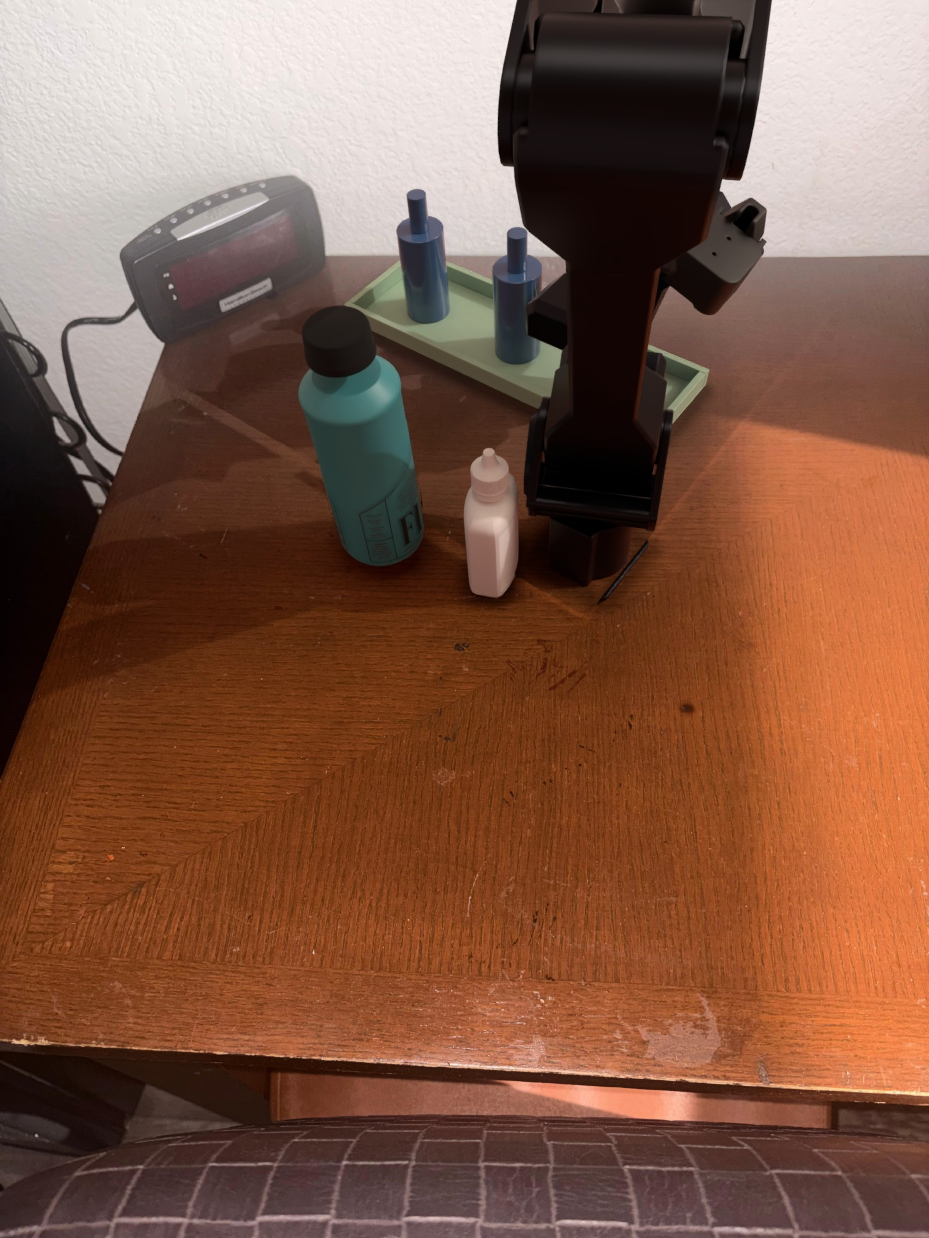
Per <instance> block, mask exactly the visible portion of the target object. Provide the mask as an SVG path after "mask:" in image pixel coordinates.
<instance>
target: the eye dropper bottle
mask: <svg viewBox="0 0 929 1238" xmlns="http://www.w3.org/2000/svg"><path fill="white" fill-rule="evenodd" d="M469 472H470V485H471V486H470V487H469V489H468V491H467V494H466V496H465V500H464V506H463V526H464V527H463V528H464V538H465V541H464V542H465V551H466V562H467V573H468V585H469V588H470V591H471V592H472V593H473V594H474V595H479V596H482V597H489V598H500V597H502V596H503V595H504V594H505V592H506V591H507V590H508V589H509V587H510V586H511V584H512V583H513V581H514V578H515V577H516V574H515V573H516V570H517V567H518V563H519V551H520V549H519V490H518V484H517V481H516V479H515V477H514V475H513V474H511V473H510V469H509V464H508V461H507V460H505V458H503V457H502V456H500V455H497V454H496V453H495V450H494V449H493V448H491V447H487V448H485V449H483V451H482V454H481V456H478V457H477V458H476V459H474V460H473V462H472V463H471V466H470V471H469Z"/></svg>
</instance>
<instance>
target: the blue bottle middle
mask: <svg viewBox="0 0 929 1238" xmlns="http://www.w3.org/2000/svg"><path fill="white" fill-rule="evenodd" d="M528 233H529V232H528V230H527V229H526V228H525V227H521V226H514V227H511V228H508V230H507V231H506V254H505V255H503V256H501V257H499V258H498V259H497V260H495V261H494V263H493V265H492V268H491V277H492V279H491V280H492V281H493V313H494V345H495V353H496V355H497V357H498V358H499V359H500V360H502V361H504V362H506V363H509V364H524V363H528V362H530V361H532V360H534V359H535V358H536V357H537V356H538V354H539V353H540V345H541V341H539V340H537V339H535V338H532V337H530V336H528V335H527V331H526V305H527V304H528V303H529V302H530V301H531V300H533V299H534V298H535V297H536V296H537V295H538V294H539V293H540V292H541V291H542V290H543V264H542V262H541V261H540V260H539V259H538V258H537V257H535V256H533V255H531V254H529V253H528V235H529V234H528Z"/></svg>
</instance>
